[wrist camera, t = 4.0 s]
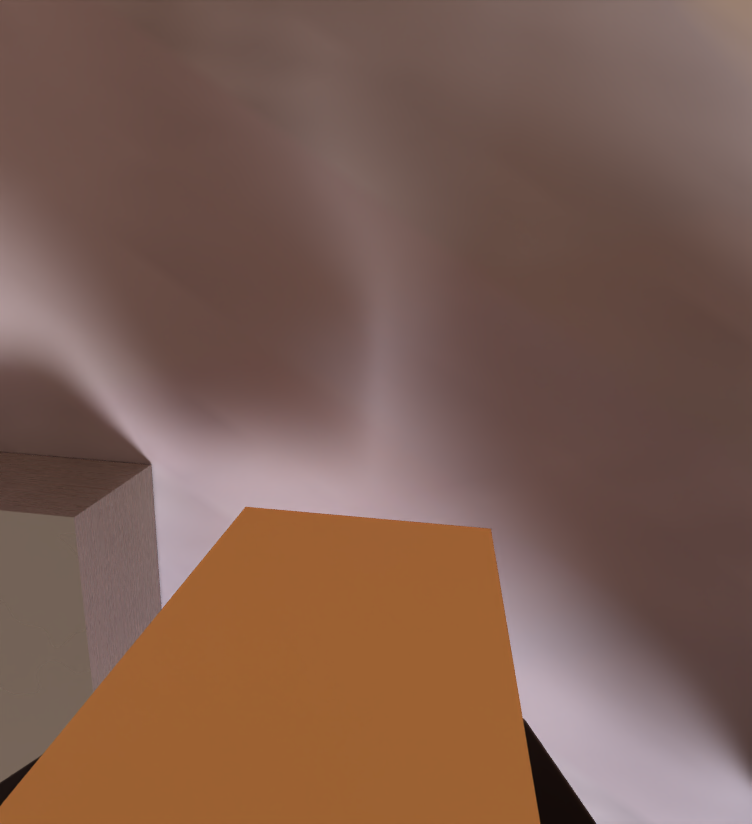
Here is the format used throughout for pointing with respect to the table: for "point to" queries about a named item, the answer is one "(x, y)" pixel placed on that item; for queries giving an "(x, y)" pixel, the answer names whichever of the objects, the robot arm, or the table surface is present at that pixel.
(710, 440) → the table surface
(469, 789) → the orange rectangular block
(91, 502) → the grey square hole board
